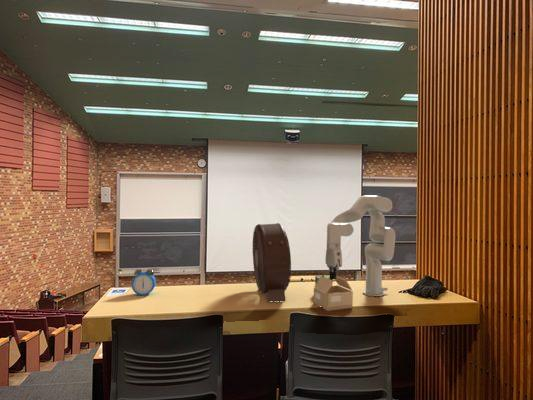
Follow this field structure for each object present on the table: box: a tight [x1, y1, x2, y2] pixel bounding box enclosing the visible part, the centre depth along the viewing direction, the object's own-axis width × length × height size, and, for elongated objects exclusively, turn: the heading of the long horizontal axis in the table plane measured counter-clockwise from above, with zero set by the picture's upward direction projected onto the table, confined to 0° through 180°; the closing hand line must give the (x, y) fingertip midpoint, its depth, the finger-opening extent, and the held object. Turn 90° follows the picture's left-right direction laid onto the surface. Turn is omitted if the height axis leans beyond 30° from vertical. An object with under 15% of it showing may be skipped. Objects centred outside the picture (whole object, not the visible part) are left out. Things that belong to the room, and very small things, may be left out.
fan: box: [252, 222, 292, 303], centre depth 213 cm, size 41×18×44 cm, turn 11°
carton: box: [313, 284, 354, 312], centre depth 192 cm, size 16×15×9 cm
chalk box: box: [314, 270, 333, 286], centre depth 212 cm, size 9×9×15 cm
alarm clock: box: [130, 268, 157, 296], centre depth 208 cm, size 13×6×15 cm, turn 98°
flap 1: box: [314, 275, 335, 292], centre depth 190 cm, size 7×13×1 cm
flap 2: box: [334, 275, 353, 291], centre depth 195 cm, size 7×13×1 cm
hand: (332, 278), depth 192 cm, fingers closed
